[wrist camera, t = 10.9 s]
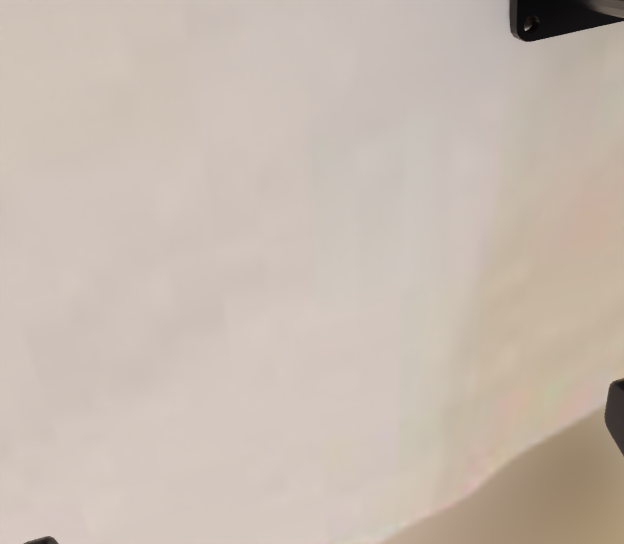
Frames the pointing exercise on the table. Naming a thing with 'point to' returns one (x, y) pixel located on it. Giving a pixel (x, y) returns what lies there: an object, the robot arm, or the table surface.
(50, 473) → the table surface
